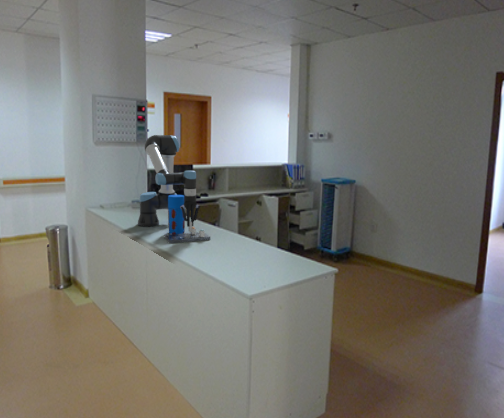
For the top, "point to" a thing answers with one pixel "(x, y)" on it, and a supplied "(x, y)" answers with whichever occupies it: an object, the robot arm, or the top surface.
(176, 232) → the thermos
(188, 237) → the console
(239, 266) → the top surface
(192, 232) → the fader
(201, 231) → the fader
